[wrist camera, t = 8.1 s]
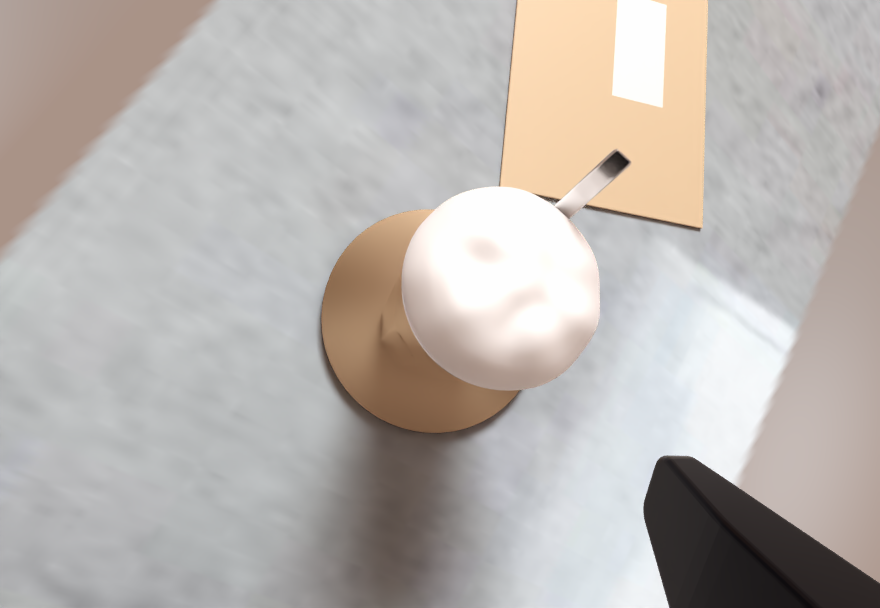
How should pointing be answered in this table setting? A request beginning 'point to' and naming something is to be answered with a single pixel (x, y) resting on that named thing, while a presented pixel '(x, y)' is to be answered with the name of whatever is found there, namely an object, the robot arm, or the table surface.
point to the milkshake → (498, 287)
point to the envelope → (610, 102)
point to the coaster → (363, 354)
